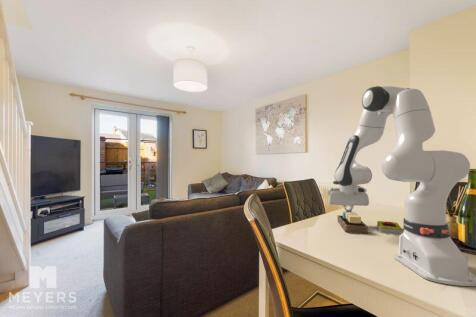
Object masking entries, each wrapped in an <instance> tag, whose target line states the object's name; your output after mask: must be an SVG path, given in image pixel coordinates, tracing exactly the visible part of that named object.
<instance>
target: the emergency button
mask: <svg viewBox="0 0 476 317" xmlns="http://www.w3.org/2000/svg"><path fill="white" fill-rule="evenodd" d="M376 227H377V229H378V232H379V233H380V234H386V235H395V236H400V235H401V234H402V233H403V230H402V227H401V226H400V224H399V223H398V222H394V221H384V220H377V221H376Z"/></svg>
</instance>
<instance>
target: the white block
mask: <svg viewBox="0 0 476 317" xmlns="http://www.w3.org/2000/svg"><path fill="white" fill-rule="evenodd" d="M344 212H345V211H344ZM348 215H358V213H357V212H355V211H352V212H345V218H346V219H347V220H348Z"/></svg>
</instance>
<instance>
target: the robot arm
mask: <svg viewBox="0 0 476 317" xmlns="http://www.w3.org/2000/svg"><path fill="white" fill-rule="evenodd" d="M361 98H362V99H361V104H362V107H363V110H362V113H361V115H360V117H359V121H358V125H357V128H356V130H355V132H354V134H353V135H352V136H350V138H349V139H348V141H347V143H346V146H345V148H344V151H343V153H342V157H341V159H340V162H339V164H338V165H337V168H336V170H335V171H334V179H335V181H336V183H337V184H338V187H337V188H335V187H334V188H329V189H328V191H327V194H328V195H327V196H328V203H329V205H331V206H332V205H333V206H342V207H343V209H344V212H353V209H354V208H355V206H363V207H368V206H369V205H370V199H369V194H368V193H367V190H368V189H367V188H365V187H363V186H360V185H366V184H369V183H370V182H371V180H372V178H373V173H372V170H371V169H370V168H369V167H368V166H365V165H362V164H360V163H358V162H357V161H356V157H357V155H358V153H359V152H360V151H361V150H362V149H364V148H366V147H369V146H370V145H373V144H375V143H377V142H378V141H380V140H381V138H382V136H383V135H384V130H385V128H386V123H387V119H388V117H389V116H390V115H392V117H393V121H394V122H393V123H394V128H395V133H396V140H395V141H396V142H395V145H394V147H393V148H392V150H391V151H390V152H389V153H388V154H387V155H386V156H384V158H383V159H382V161H381V170H382V173H383V175H384V176H385V177H386V178H387V179H388V180H390V181H391V180H392V181H396V182H402V183H417V182H418V183H419V185H418V187H417V188H416V190H414V191H412V192H410V193H408V194H407V195H406V196H405V198H404V218H403V221H402V226H403V231H402V234H401V235H399V239H398V253H396V254H395V255H394V259H395V260H397V261H398V262H399V263H401V264H402V265H404V266H405V267H406V268H408V269H409V270H411V271H413V272H414V273H416V274H417V275H419V276H420V277H422V278H423V279H425V280H428V281H431V282H435V283H439V284H446V285H452V286H462V287H476V276H475V274H473V273H472V272H471V271H470V270H469V263H468V255H467V253H465V252H461V250H460V248H458V245H456V244H455V242H454V241H453V239H452V238H451V236H452V235H451V234H452V233H451V232H452V230H450V227H449V224H448V223H447V202H448V197H449V195H450V193H451V191H452V189H454V187H455V186H456V184H457V183H459V182H460V181H461V180H462V179H465V178H467V176H468V174H469V173H470V170H471V163H470V161H469V159H468V157H467V156H466V155H465V154H463V153H462V152H457V151H451V150H443V149H442V150H440V149H439V150H424V148H423V144H424V143H425V142H427V141H428V140H430V139H431V138H433V136H434V135H435V133H436V127H435V124H434V120H433V116H432V112H431V109H430V108H431V107H430V105H429V103H428V100H427V99H426V96H425V94H424V92H422V91H421V90H420V89H419V88H418V89H417V88H409V87H406V88H405V87H399V86H390V85H389V86H386V85H385V86H380V85H377V86H371V87H369V88H368V89H366V90H365V92H364V93H363V95H362V97H361ZM347 206H349V207H350V208H349V209H347Z"/></svg>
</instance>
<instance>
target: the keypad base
mask: <svg viewBox="0 0 476 317" xmlns="http://www.w3.org/2000/svg"><path fill="white" fill-rule="evenodd" d="M337 222H338V224H339V225H340V227H341V228H342V230H343V231H344V232H345V233H348V234H350V233H351V234H366V235H369V226H368V225H367V224H365V222H363V221H362V220H361V223H356V224H353V223H350V222H349V221H348V220H347V219H344V218H343V215H341V214H339V215H337Z"/></svg>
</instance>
